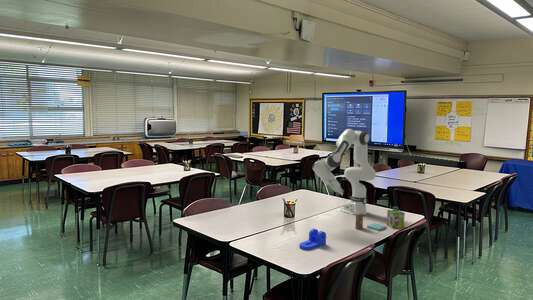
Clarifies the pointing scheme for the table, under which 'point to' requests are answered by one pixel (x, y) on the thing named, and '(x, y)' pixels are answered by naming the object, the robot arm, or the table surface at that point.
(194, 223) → the table surface
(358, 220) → the walnut block
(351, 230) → the table surface
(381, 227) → the teal pad
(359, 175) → the robot arm
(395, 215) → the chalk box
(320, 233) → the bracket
